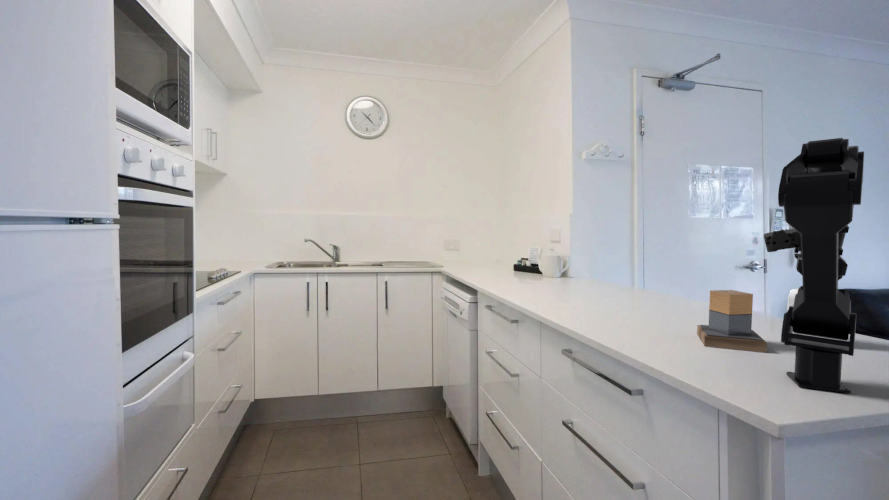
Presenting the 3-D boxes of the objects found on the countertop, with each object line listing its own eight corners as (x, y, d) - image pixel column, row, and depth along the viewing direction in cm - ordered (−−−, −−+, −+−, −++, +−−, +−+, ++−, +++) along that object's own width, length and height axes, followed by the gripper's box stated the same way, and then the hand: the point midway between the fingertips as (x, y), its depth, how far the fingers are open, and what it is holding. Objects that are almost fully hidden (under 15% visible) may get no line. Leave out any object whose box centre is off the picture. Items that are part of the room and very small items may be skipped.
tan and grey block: (751, 334, 90) (753, 294, 89) (728, 335, 89) (729, 294, 89) (730, 328, 96) (731, 290, 95) (708, 329, 95) (710, 290, 94)
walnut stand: (766, 352, 85) (766, 340, 85) (704, 346, 90) (705, 334, 90) (752, 339, 95) (752, 328, 95) (697, 334, 100) (697, 323, 100)
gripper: (772, 208, 86) (757, 278, 90) (770, 219, 72) (753, 302, 76) (844, 214, 80) (824, 289, 84) (858, 227, 66) (834, 317, 69)
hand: (807, 298), depth 78 cm, fingers open, 9 cm apart
